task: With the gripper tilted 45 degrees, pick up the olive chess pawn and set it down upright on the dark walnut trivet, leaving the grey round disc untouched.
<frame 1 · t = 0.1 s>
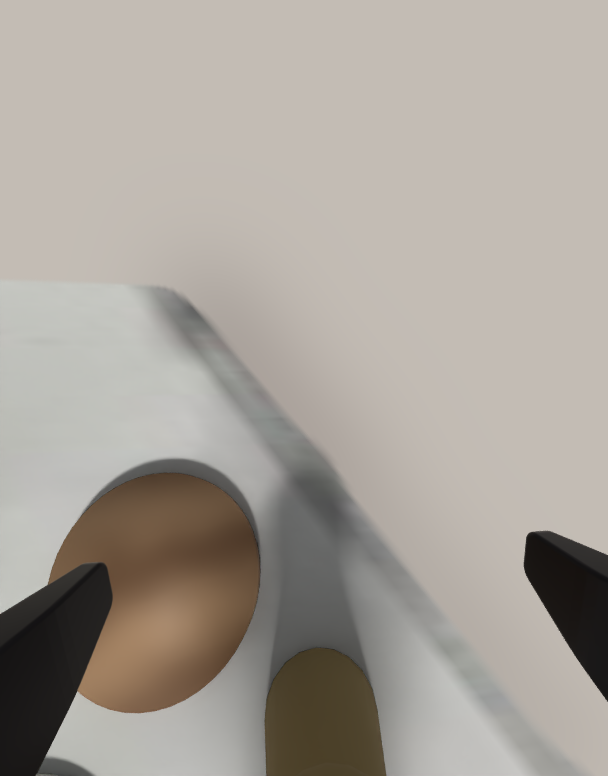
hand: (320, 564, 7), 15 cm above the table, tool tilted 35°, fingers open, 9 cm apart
olive chess pawn: (321, 713, 18), on the table
walnut trivet: (160, 576, 20), on the table
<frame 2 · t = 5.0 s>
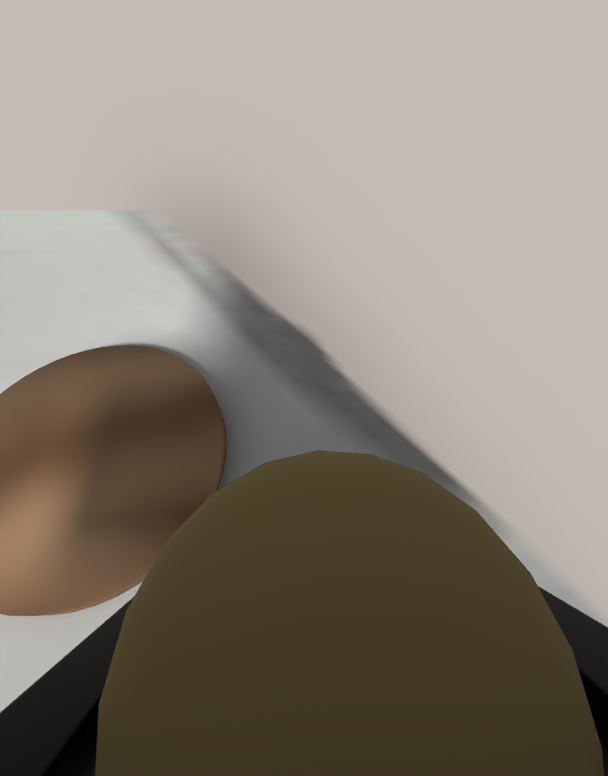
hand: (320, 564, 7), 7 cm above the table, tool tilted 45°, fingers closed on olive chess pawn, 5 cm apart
olive chess pawn: (305, 627, 12), on the table, touching gripper
walnut trivet: (96, 459, 16), on the table
when the fingers open (9 cm above the table, at t = 9.5 s): olive chess pawn drops 1 cm, resting on walnut trivet.
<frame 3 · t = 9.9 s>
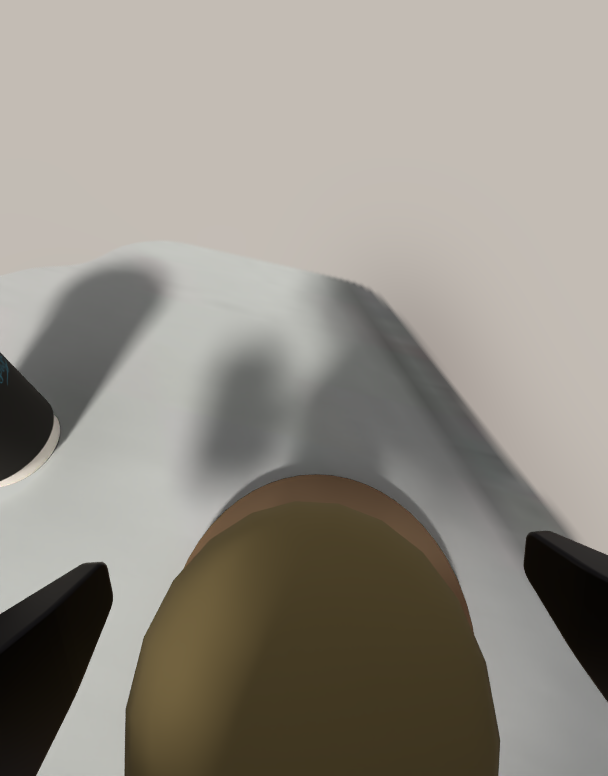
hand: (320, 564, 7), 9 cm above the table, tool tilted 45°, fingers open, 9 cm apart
dixie cup: (17, 445, 19), on the table
olive chess pawn: (309, 632, 13), point 1 cm above the table, touching walnut trivet
walnut trivet: (317, 623, 14), on the table
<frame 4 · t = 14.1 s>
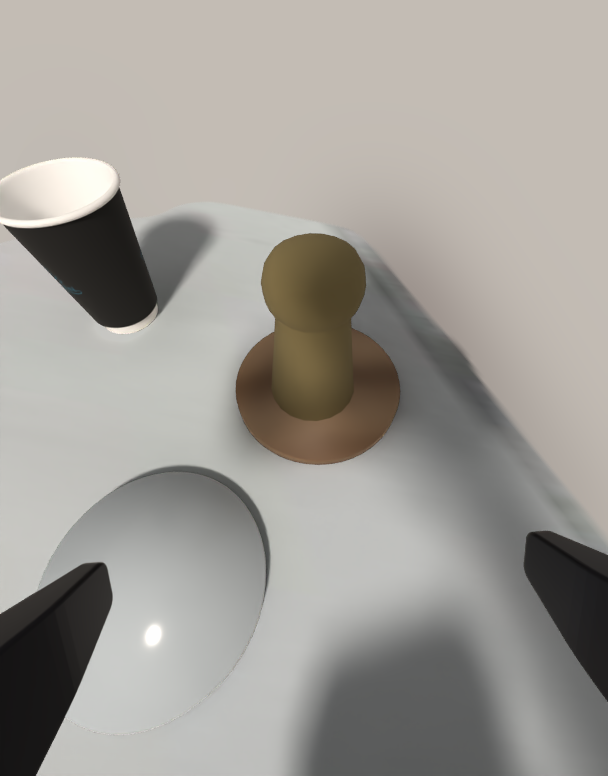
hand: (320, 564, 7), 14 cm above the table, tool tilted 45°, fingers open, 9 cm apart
dixie cup: (131, 315, 30), on the table
olive chess pawn: (312, 385, 25), point 1 cm above the table, touching walnut trivet
walnut trivet: (317, 388, 26), on the table
grey round disc: (159, 580, 19), on the table
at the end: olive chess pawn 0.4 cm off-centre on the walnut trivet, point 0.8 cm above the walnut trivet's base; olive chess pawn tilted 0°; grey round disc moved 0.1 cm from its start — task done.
